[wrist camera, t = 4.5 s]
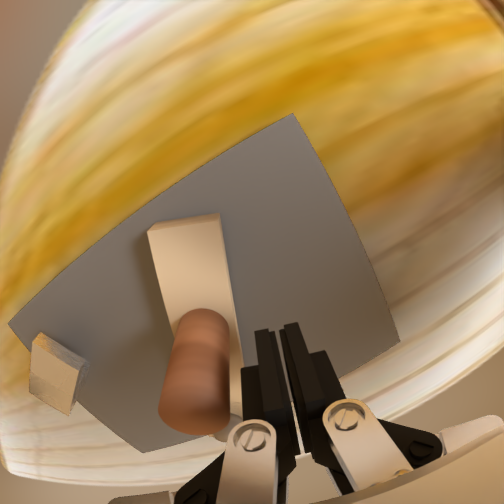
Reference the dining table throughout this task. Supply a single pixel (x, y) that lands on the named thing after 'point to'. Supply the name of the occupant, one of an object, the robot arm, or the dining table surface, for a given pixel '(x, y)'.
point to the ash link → (198, 327)
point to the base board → (241, 277)
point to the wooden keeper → (56, 373)
